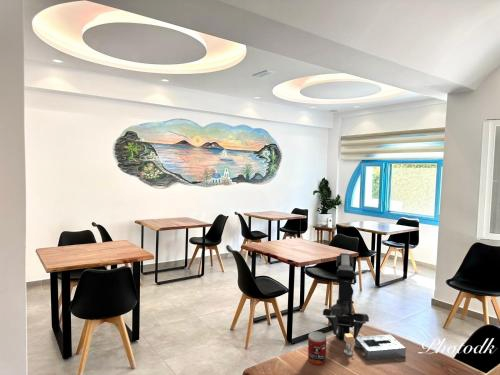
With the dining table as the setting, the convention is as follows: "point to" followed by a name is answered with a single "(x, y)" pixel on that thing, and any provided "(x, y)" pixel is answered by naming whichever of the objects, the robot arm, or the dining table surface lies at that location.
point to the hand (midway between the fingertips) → (344, 336)
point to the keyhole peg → (348, 344)
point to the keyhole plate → (380, 347)
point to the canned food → (317, 348)
